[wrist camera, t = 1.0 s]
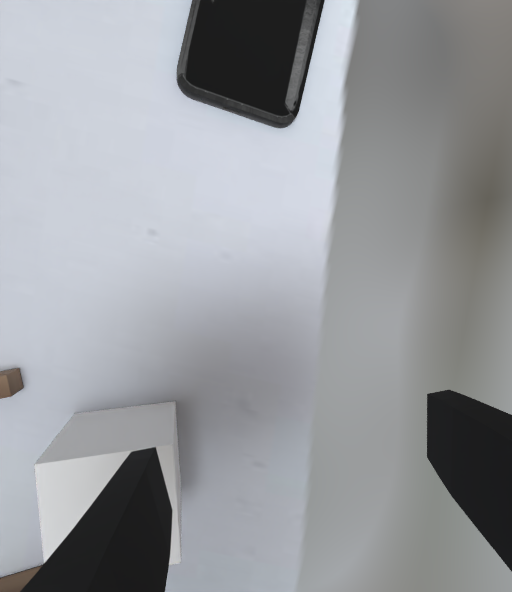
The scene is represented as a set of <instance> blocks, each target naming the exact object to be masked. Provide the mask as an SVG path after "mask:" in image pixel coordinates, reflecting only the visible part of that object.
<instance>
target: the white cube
mask: <svg viewBox="0 0 512 592" xmlns="http://www.w3.org/2000/svg"><path fill="white" fill-rule="evenodd" d="M152 447H156V450H157V454H158V457H159V461H160V465H161V469H162V472H163V476H164V480H165V484H166V487H167V491H168V495H169V499H170V502H171V506H172V510H173V511H172V533H171V550H170V560H169V565H173V564H178V563H181V477H180V462H179V447H178V433H177V418H176V403H175V401H172V402H163V403H155V404H147V405H139V406H130V407H122V408H114V409H106V410H97V411H89V412H81V413H74V415H73V416H72V417H71V419H70V420H69V421H68V422H67V424H66V425H65V426H64V427H63V429H62V430H61V431H60V433H59V434H58V435H57V436H56V438H55V439H54V440H53V441H52V443H51V444H50V445H49V447H48V448H47V449H46V450H45V452H44V453H43V454H42V455H41V457H40V458H39V459H38V461H37V462H36V463H35V464H34V466H35V476H36V487H37V497H38V507H39V518H40V528H41V539H42V549H43V559H44V563H45V562H46V561H47V559H48V558H49V557H50V556H51V555H52V553H53V552H54V551H55V550H56V549H57V547H58V546H59V545H60V544H61V543H62V541H63V540H64V539H65V538H66V537H67V535H68V534H69V533H70V532H71V530H72V529H73V528H74V527H75V525H76V524H77V523H78V521H79V520H80V519H81V518H82V516H83V515H84V514H85V512H86V511H87V510H88V508H89V507H90V506H91V505H92V503H93V502H94V501H95V499H96V498H97V497H98V495H99V494H100V493H101V491H102V490H103V489H104V487H105V486H106V485H107V483H108V482H109V481H110V479H111V478H112V477H113V475H114V474H115V473H116V471H117V470H118V468H119V467H120V466H121V464H122V463H123V462H124V461H125V459H126V458H127V457H128V455H129V454H130V453H131V452H132V451H137V450H142V449H147V448H152Z"/></svg>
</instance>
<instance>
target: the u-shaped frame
mask: <svg viewBox="0 0 512 592" xmlns="http://www.w3.org/2000/svg"><path fill="white" fill-rule="evenodd" d="M22 388H23V383H22V379H21V374H20V370H19V368H16V369H11V370H6V371H1V372H0V399H1V398H6V397H10V396H12V395H14V394H15V393H17V392H18V391H20V390H21V389H22ZM42 566H43V565H42ZM42 566H39V567H36V568H32V569H29V570H26V571H22V572H19V573H16V574H12V575H9V576H6V577H3V578H0V592H20V591H21V590H22V589H23V588H24V587H25V585H26V584H27V583H28V582H29V581H30V580H31V579H32V577H33V576H34V575H35V574H36V573H37V572H38V570H39V569H40V568H41V567H42Z"/></svg>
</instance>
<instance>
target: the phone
mask: <svg viewBox="0 0 512 592" xmlns="http://www.w3.org/2000/svg"><path fill="white" fill-rule="evenodd" d="M323 4H324V0H192V4H191V8H190V13H189V17H188V22H187V26H186V30H185V35H184V39H183V43H182V48H181V52H180V56H179V61H178V65H177V82H178V86H179V88H180V89H181V91H182V92H183V93H184V94H185V95H186V96H187V97H189V98H191V99H194V100H197V101H199V102H202V103H205V104H208V105H211V106H214V107H217V108H220V109H223V110H226V111H229V112H232V113H234V114H237V115H240V116H243V117H246V118H249V119H252V120H255V121H258V122H261V123H264V124H266V125H269V126H272V127H276V128H284V127H287V126H288V125H290V124H291V123H292V122H293V120H294V119H295V118H296V116H297V114H298V112H299V108H300V104H301V99H302V95H303V91H304V86H305V82H306V78H307V73H308V69H309V65H310V60H311V56H312V52H313V48H314V43H315V39H316V35H317V30H318V26H319V22H320V17H321V13H322V9H323ZM201 99H202V100H203V101H202V100H201ZM224 106H225V107H224ZM226 107H227V108H226ZM229 108H230V109H229ZM232 109H233V110H232ZM235 110H236V111H235ZM238 111H239V112H238Z"/></svg>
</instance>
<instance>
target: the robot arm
mask: <svg viewBox="0 0 512 592" xmlns="http://www.w3.org/2000/svg"><path fill="white" fill-rule="evenodd" d="M427 458H428V459H429V461H430V463H431V464H432V466H433V468H434V469H435V471H436V472H437V474H438V476H439V477H440V479H441V480H442V482H443V484H444V485H445V487H446V488H447V490H448V491H449V493H450V494H451V496H452V497H453V498H454V499H455V501H456V502H457V503H458V505H459V506H460V507H461V509H462V510H463V511H464V512H465V514H466V515H467V516H468V517H469V519H470V520H471V521H472V522H473V524H474V525H475V526H476V527H477V529H478V530H479V531H480V532H481V534H482V535H483V536H484V537H485V539H486V540H487V541H488V542H489V544H490V545H491V546H492V547H493V549H495V551H496V552H497V554H498V555H499V556H500V557H501V559H502V560H503V561H504V562H505V564H506V565H507V566H508V567H509V569H510V570H511V571H512V415H510V414H508V413H506V412H503V411H501V410H499V409H496V408H494V407H491V406H489V405H487V404H484V403H481V402H480V401H477V400H475V399H472V398H470V397H467V396H465V395H462V394H460V393H457V392H454V391H451V390H445V391H440V392H435V393H430V394H427ZM172 511H173V510H172V506H171V502H170V499H169V495H168V491H167V487H166V484H165V480H164V476H163V472H162V469H161V465H160V461H159V457H158V454H157V450H156V447H152V448H147V449H142V450H137V451H132V452H131V453H130V454H129V455H128V457H127V458H126V459H125V461H124V462H123V463H122V464H121V466H120V467H119V468H118V470H117V471H116V473H115V474H114V475H113V477H112V478H111V479H110V481H109V482H108V483H107V485H106V486H105V487H104V489H103V490H102V491H101V493H100V494H99V495H98V497H97V498H96V499H95V501H94V502H93V503H92V505H91V506H90V507H89V508H88V510H87V511H86V512H85V514H84V515H83V516H82V518H81V519H80V520H79V521H78V523H77V524H76V525H75V527H74V528H73V529H72V530H71V532H70V533H69V534H68V535H67V537H66V538H65V539H64V540H63V541H62V543H61V544H60V545H59V546H58V547H57V549H56V550H55V551H54V552H53V553H52V555H51V556H50V557H49V558H48V559H47V561H46V562H45V563H44V564H43V566H42V567H41V568H40V569H39V570H38V572H37V573H36V574H35V575H34V576H33V577H32V579H31V580H30V581H29V582H28V583H27V584H26V585H25V587H24V588H23V589H22V590H21V591H20V592H165V586H166V580H167V573H168V567H169V560H170V550H171V533H172Z"/></svg>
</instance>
